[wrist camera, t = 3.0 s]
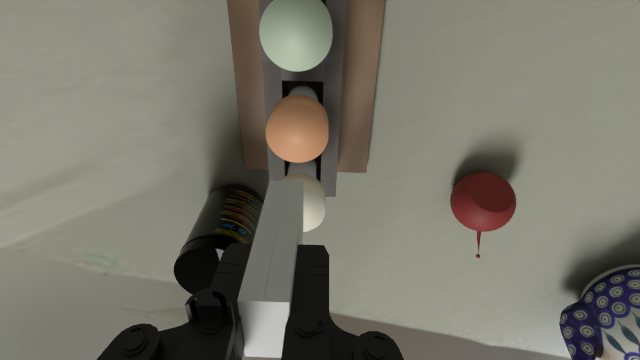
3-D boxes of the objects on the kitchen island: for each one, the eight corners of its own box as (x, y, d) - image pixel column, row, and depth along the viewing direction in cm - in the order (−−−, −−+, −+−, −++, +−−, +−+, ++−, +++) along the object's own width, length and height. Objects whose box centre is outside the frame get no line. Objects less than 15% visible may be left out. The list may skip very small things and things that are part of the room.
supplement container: (207, 176, 38) (172, 241, 29) (270, 186, 39) (253, 253, 30) (206, 224, 42) (174, 295, 33) (263, 233, 42) (247, 305, 33)
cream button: (280, 184, 32) (271, 231, 27) (279, 145, 30) (268, 187, 25) (324, 186, 32) (324, 233, 27) (326, 146, 30) (326, 188, 25)
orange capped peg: (278, 123, 29) (267, 161, 24) (276, 74, 27) (263, 104, 21) (327, 124, 29) (327, 163, 24) (329, 75, 27) (329, 105, 21)
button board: (246, 164, 37) (234, 193, 33) (226, -37, 28) (206, -35, 23) (365, 167, 37) (370, 197, 33) (386, -32, 28) (398, -30, 23)
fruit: (437, 189, 41) (447, 257, 37) (455, 164, 36) (468, 240, 32) (490, 191, 41) (505, 259, 37) (515, 166, 36) (536, 242, 32)
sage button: (275, 46, 26) (261, 70, 20) (272, -16, 24) (256, -9, 18) (330, 48, 26) (331, 72, 20) (332, -14, 24) (334, -6, 18)
